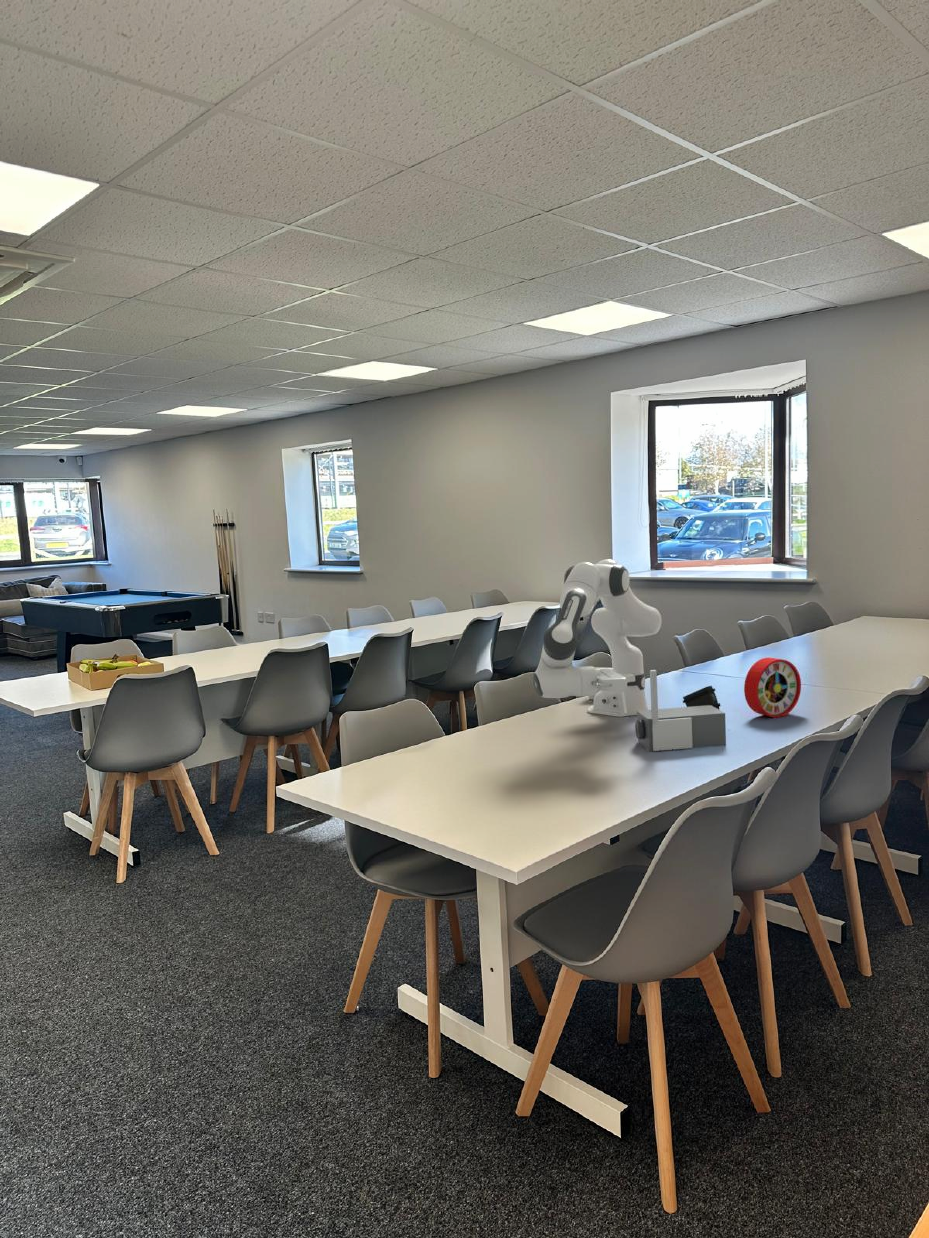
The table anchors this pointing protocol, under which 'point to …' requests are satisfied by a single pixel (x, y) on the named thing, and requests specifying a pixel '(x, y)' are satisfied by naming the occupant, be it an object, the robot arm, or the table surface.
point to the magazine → (702, 698)
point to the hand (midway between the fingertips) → (633, 677)
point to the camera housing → (704, 725)
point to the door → (668, 725)
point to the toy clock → (772, 687)
